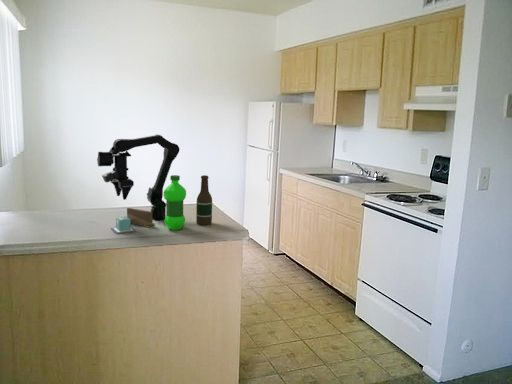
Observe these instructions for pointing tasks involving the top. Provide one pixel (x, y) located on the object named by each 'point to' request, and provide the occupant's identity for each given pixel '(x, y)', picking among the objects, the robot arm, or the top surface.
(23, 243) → the top surface
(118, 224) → the letter cube
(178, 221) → the plastic bottle
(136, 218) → the brown wooden block
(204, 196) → the beer bottle
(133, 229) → the pad
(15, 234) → the top surface
